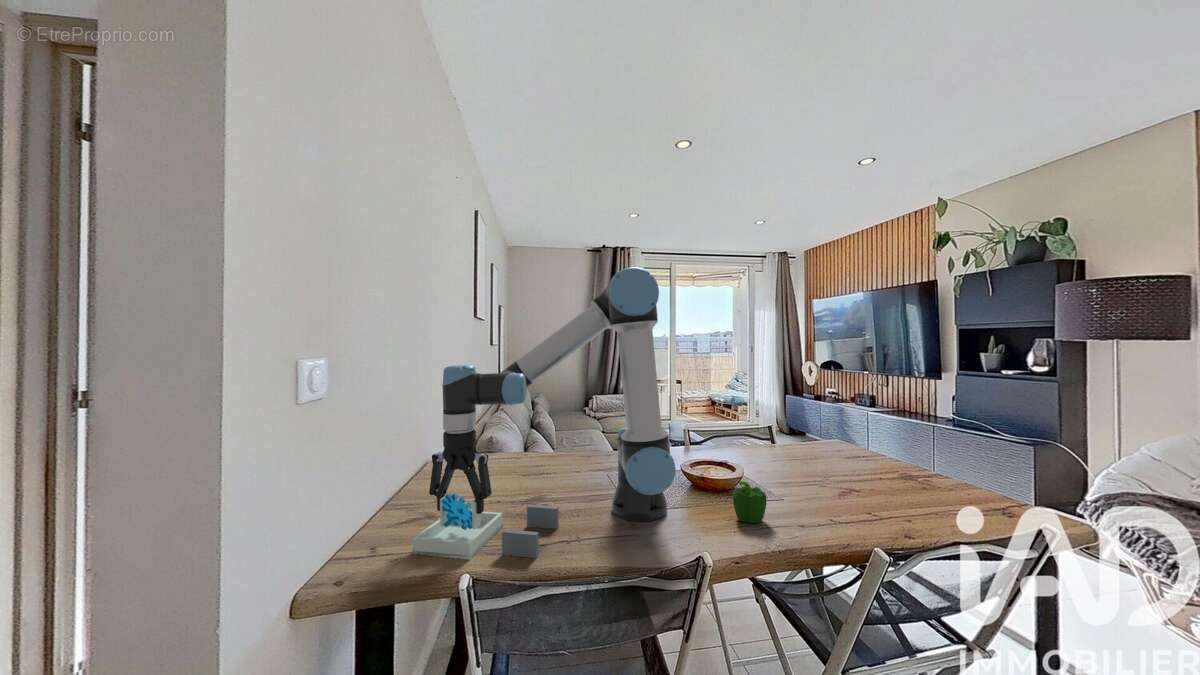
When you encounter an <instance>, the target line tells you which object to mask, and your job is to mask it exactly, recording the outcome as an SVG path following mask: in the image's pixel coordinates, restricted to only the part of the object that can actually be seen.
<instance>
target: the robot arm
mask: <svg viewBox="0 0 1200 675" xmlns="http://www.w3.org/2000/svg"><path fill="white" fill-rule="evenodd" d="M659 288H660V287H659V283H658V282H657V280H656V278H655V277H654V275H653V274H652V273H650V272H649V271H648V270H646V269H643V268H641V267H637V266H636V267H634V266H633V267H626V268H622V269H621V270H619V271H617V272H616V273H615V274H613V276H612V277H611V279H610V281H609V283H608V285H607V286H606V287H605V288H604V290H603V291H602V292H600V294H598V295H597V296H596V297H595V298H594V299H592V300H591V301H590V306H589V307H587V308H586V309H584V310H583V311H582V312H581V313H579V314H578V315H577V316H575V317H574V318H573V319H571V320H570V321H568V322H567V323H566V324H564V325H563V326H562V327H561V328H558V330H556V331H555V332H553V333H552V334H551V335H550V336H548V337H547V338H546V339H544V340H543V341H541V342H540V343H539V344H537V345H536V346H535V347H533V348H532V349H531V350H529V351H528V352H526V353H525V354H524V355H522V356H521V357H520V358H518V359H517V360H516V361H514V362H513V363H512V364H510V365H508V366H507V367H506V368H505V369H503V370H502V371H500V372H497V373H480V372H479V373H477V371H476V366H475V365H470V364H469V365H467V364H464V365H461V364H460V365H448V366H446V367H444V368H443V372H442V373H443V375H442V384H441V387H442V430H444V432H443V433H442V440H443V441H442V443H443V445H442V446H443V451H442V452H441V451H438V452H436V453H434V454H433V453H432V454H431V462H432V469H431V477H430V482H429V483H430V484H429V490H428V494H429V495H430V496H435V497H436V500H437V501H436V508H437V509H436V510H437V512H439V519H440V526H442V527H443V526H444V523H445V522H446V521H447V520H448V519H447V517H446V515H447V514H448V513H449V512H447V511H443V510H442V507H443V506H444V505H445V504H443V503H442V502H441V501H442V500H443V499H444V498H445V496H446V495H447V494H448V489H449V486H450V483H451V481H452V479H453V475H454V473H455V471H456V470H459V471H463V474H464V475H465V476H466V479H467V481H468V483H469V486H470V489H471V491H472V494H473V496H474V497H473V498H475V499H473V500H472V501H471V502H472V505H471V507H472V508H471V511H472V529H476V528H477V527H479V526H480V525H481V513H482V512H485V511H484V510H485V500H486V499H487V498H489V497H490V496H491V495H492V494H493V492H492V486H491V479H490V472H489V467H488V466H489V465H488V462H489V455H488V454H487V453H485V454H481V453H478V451H477V449H476V446H477V431H476V427H477V420H476V419H477V416H476V415H477V414H476V412H477V409H476V406H482V405H485V406H486V405H488V406H489V405H508V406H512V405H522V404H523V403H525V402H526V398H527V388H528V387H530V386H531V385H532V384H534V383H535V382H536V381H538V380H539V379H540V378H542V377H543V376H544V375H546V374H548V372H549V371H552V370H553V368H555V367H557V366H558V365H559V364H561V363H562V362H563V361H564V360H566V359H567V358H569V357H570V356H572V354H574V353H576V352H577V351H578V350H579V349H581V348H582V347H583V346H585V345H586V344H588V343H590V342H591V341H592V340H593V339H595V338H596V337H597V336H599V335H600V334H601V333H603V332H604V331H605V330H614V331H615V332H616V333H617V340H618V351H619V363H620V364H619V365H620V373H621V374H620V375H621V384H622V396H623V397H622V398H623V405H624V406H623V407H624V416H625V427H622V428H621V427H620V428H619V429H618V431H617V437H616V441H617V485H616V489H615V491H614V495H613V498H612V502H611V511H612V513H613V515H615V516H616V517H617V518H620V519H623V520H626V521H631V522H632V521H633V522H650V521H655V520H659V519H662V518H664V517H665V516H666V515H667V513H668V502H667V499H666V497H665V491H666V490H667V489H668V488H669V487H670V486H671V485H672V484H673V482H674V480H675V477H676V464H675V460H674V458H673V456H672V455H671V449H670V448H671V447H670V439H669V438H670V437H669V432H668V431H667V430H666V429H665V428H664V427H663V426H662V420H661V408H660V407H661V406H660V397H659V385H658V376H657V367H656V366H657V365H656V354H655V343H654V332H653V329H654V328H655V326H656V325H657V324H658V321H659V320H658V308H657V303H658V301H659V296H660V289H659ZM475 460H476V464H477V470H478V473H477V471H476V464H475V463H474V462H475ZM444 461H445V463H446V465H445V468H444V474H443V476H442V473H443V466H444Z"/></svg>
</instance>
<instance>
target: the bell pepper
mask: <svg viewBox="0 0 1200 675" xmlns="http://www.w3.org/2000/svg"><path fill="white" fill-rule="evenodd" d="M738 483H739V485H740V486H741V487H736V488H734V489H733V491H732V503H733V509H734V512H735V515H736V518H737V519H738V520H739V521H741V522H745V523H746V522H749V523H752V524H759V523H761V522H762V521H763V519H764V517H765V513H766V509H767V494H766V492H765V491H762V489H761V488H760V487H759V486H757V487H751V485H750V483H749V482H746V481H743V480H741V481H740V480H739V481H738ZM742 485H743V486H742Z"/></svg>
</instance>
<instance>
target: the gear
mask: <svg viewBox="0 0 1200 675" xmlns="http://www.w3.org/2000/svg"><path fill="white" fill-rule="evenodd" d="M458 498H459V496H458V494H457V493H453V494H450V493H447V494H445V498H444V499H443V500H442V501H441V502H442V503H443V504H445V505H444V506H443V507H442V510H443V511H447V512H449V513H448V514H447V515H446V517H447V519H448V520H447V521H446V522H445V523H444V526H445V527H447V526H448V525H449V524H450V523H451V522H452V521H453V520H454V519H456V520H455V521H454V522H453V524H454V525H455V526H456V527H457V526H458V525H459V524H460V522H462V523H463V525H462V526H461V528H462V529H464V530H466V529H467V528H469V529H472V501H471V500H470V501H468V502H467V503H466V504H465V503H464V502H466V499H465V498H464V497H463V496H461V497H460V498H459V499H458ZM467 523H468V525H467Z"/></svg>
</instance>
